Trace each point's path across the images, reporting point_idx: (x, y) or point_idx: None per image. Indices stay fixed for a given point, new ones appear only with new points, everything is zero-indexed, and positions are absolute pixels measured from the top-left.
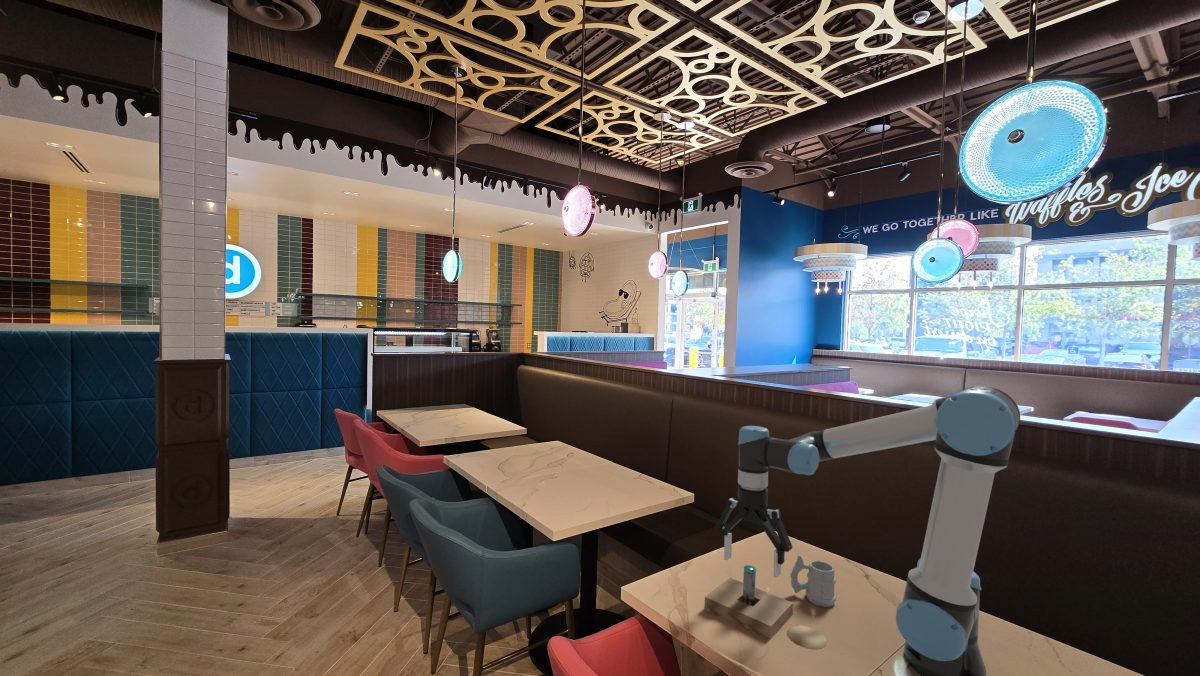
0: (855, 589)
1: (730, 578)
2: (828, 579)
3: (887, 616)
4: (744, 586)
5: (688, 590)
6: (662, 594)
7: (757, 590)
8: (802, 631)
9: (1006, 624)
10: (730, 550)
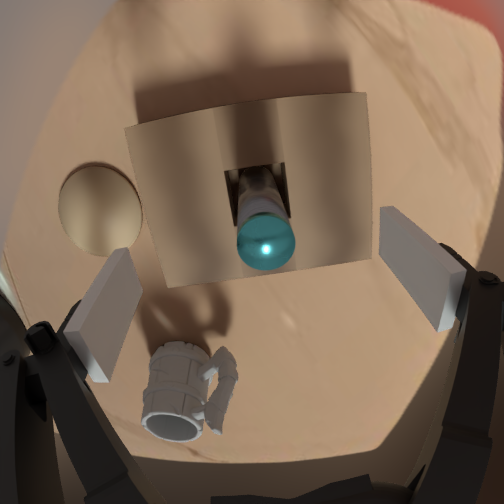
0: None
1: (367, 256)
2: (145, 401)
3: (96, 387)
4: (269, 191)
5: (433, 147)
6: (461, 79)
7: None
8: (114, 225)
9: None
10: (395, 263)
